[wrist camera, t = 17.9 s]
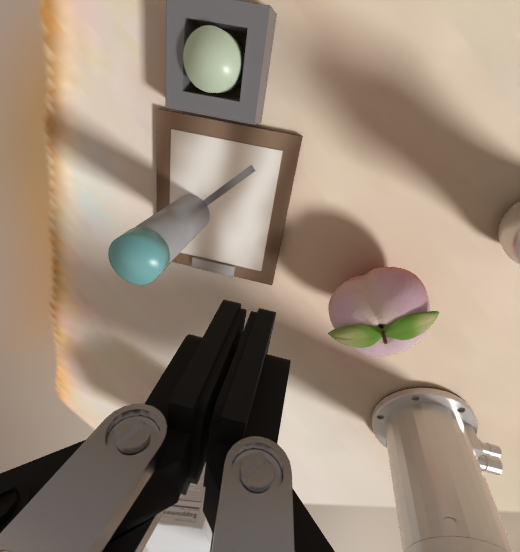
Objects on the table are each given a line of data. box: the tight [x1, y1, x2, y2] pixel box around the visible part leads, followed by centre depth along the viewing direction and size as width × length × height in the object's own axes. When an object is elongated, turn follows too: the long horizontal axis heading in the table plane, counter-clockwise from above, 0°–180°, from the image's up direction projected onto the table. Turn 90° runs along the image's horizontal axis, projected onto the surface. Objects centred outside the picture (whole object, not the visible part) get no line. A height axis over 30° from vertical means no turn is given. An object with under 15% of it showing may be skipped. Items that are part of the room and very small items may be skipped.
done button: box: [183, 25, 244, 93], centre depth 27 cm, size 4×4×2 cm
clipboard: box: [157, 109, 302, 285], centre depth 35 cm, size 14×16×1 cm
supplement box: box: [146, 462, 212, 552], centre depth 45 cm, size 10×9×17 cm
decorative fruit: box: [328, 267, 439, 356], centre depth 32 cm, size 9×8×10 cm
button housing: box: [165, 0, 277, 125], centre depth 28 cm, size 8×8×3 cm
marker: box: [108, 195, 210, 285], centre depth 30 cm, size 4×4×12 cm
